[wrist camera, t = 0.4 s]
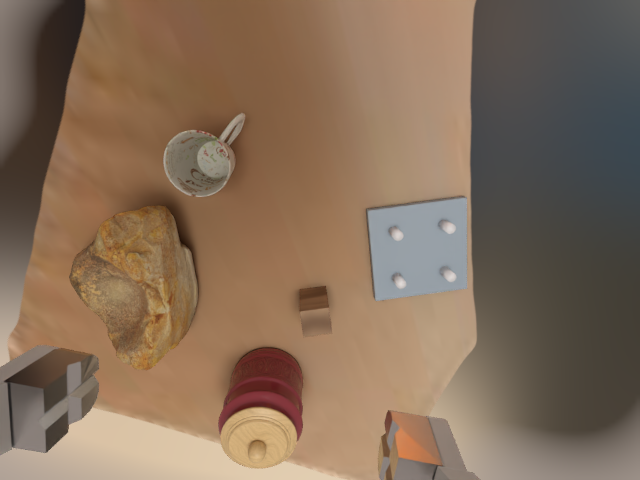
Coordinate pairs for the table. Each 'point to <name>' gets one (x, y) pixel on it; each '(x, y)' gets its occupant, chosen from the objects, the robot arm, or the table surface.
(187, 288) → the rough brown rock
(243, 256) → the table surface
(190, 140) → the mug
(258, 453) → the canister
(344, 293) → the table surface
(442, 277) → the peg seat
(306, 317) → the walnut block
